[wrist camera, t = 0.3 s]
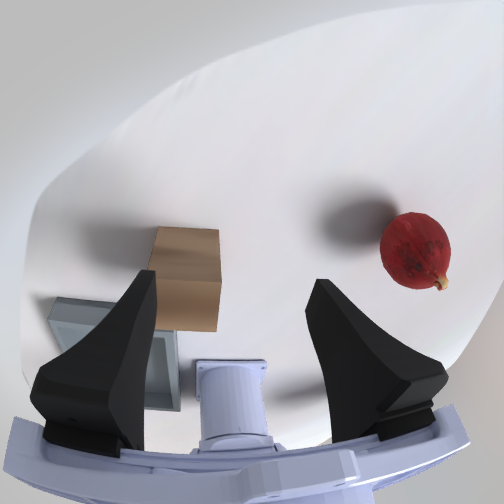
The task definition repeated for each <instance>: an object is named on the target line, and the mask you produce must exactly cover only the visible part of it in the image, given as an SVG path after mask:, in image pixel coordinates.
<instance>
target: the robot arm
mask: <svg viewBox="0 0 504 504" xmlns="http://www.w3.org/2000/svg"><path fill="white" fill-rule="evenodd" d="M305 313H306V319H307V324H308V329H309V332H310V336H311V339H312V342H313V345H314V348H315V350H316V353H317V356H318V359H319V362H320V365H321V369H322V372H323V376H324V381H325V386H326V391H327V397H328V404H329V411H330V419H331V430H332V444H328V445H322V446H316V447H309V448H303V449H295V450H286V448H285V447H283V446H282V445H281V444H280V443H274V442H273V436H269V432H268V426H267V420H266V414H265V408H264V402H263V396H262V390H261V384H262V381H263V378H264V375H265V372H266V369H267V366H268V363H267V362H266V361H197V362H196V400H197V401H200V417H201V440H202V441H199V448H194V449H193V450H192V452H191V453H189V454H172V453H158V452H148V451H144V399H145V381H146V371H147V365H148V360H149V354H150V350H151V345H152V340H153V335H154V330H155V325H156V316H157V290H156V271H154V270H141V271H140V272H139V273H138V275H137V276H136V278H135V279H134V281H133V282H132V284H131V285H130V286H129V288H128V289H127V291H126V292H125V293H124V294H123V296H122V297H121V298H120V300H119V301H118V302H117V303H116V305H115V306H114V307H113V308H112V309H111V311H110V312H109V313H108V314H107V315H106V316H105V317H104V318H103V319H102V321H101V322H100V323H99V324H98V325H97V326H96V327H95V328H94V329H92V330H91V331H90V332H89V333H88V334H87V335H86V336H85V337H84V338H82V339H81V340H80V341H79V342H78V343H76V344H75V345H74V346H72V347H71V348H70V349H68V350H67V351H65V352H64V353H63V354H61V355H60V356H58V357H56V358H55V359H53V360H51V361H50V362H48V363H46V364H45V365H43V366H41V367H40V369H39V371H38V373H37V375H36V378H35V381H34V384H33V387H32V391H31V394H30V400H31V402H32V404H33V405H34V407H35V408H36V409H37V410H38V412H39V413H40V414H41V415H42V416H43V417H44V418H45V419H46V424H45V427H43V426H42V425H40V424H37V423H35V422H32V421H28V420H25V419H22V418H19V417H14V420H13V424H12V427H11V432H10V436H9V440H8V445H7V450H6V455H5V460H4V466H3V470H4V471H5V472H6V473H8V474H10V475H11V476H13V477H15V478H17V479H18V480H20V481H22V482H24V483H26V484H28V485H30V486H32V487H34V488H37V489H39V490H42V491H45V492H48V493H51V494H54V495H57V496H60V497H64V498H67V499H70V500H74V501H77V502H81V503H85V504H375V500H374V497H373V493H372V492H374V491H377V490H379V489H382V488H385V487H387V486H390V485H392V484H395V483H397V482H400V481H402V480H405V479H407V478H409V477H411V476H414V475H416V474H418V473H421V472H423V471H425V470H427V469H429V468H431V467H433V466H436V465H437V464H440V463H441V462H443V461H445V460H446V459H448V458H449V457H451V456H453V455H454V454H455V453H457V452H459V451H460V450H462V449H463V448H465V447H466V446H467V445H469V444H470V439H469V437H468V435H467V432H466V430H465V428H464V426H463V424H462V421H461V419H460V417H459V415H458V413H457V411H456V409H455V407H454V405H453V404H450V405H448V406H445V407H442V408H440V409H437V410H436V411H434V412H432V409H431V407H432V406H433V402H432V398H433V397H434V396H435V395H436V394H437V393H438V392H439V391H440V390H441V389H442V388H443V387H444V386H445V384H446V383H447V381H448V377H449V376H448V374H447V373H446V371H445V369H444V367H443V365H442V363H441V362H439V361H437V360H434V359H432V358H430V357H427V356H425V355H423V354H421V353H419V352H417V351H415V350H413V349H411V348H410V347H408V346H406V345H405V344H403V343H401V342H400V341H398V340H397V339H395V338H394V337H392V336H391V335H389V334H388V333H387V332H385V331H384V330H383V329H381V328H380V327H379V326H378V325H376V324H375V323H374V322H373V321H372V320H371V319H369V318H368V317H367V316H366V315H365V314H364V313H363V312H362V311H361V310H360V309H358V308H357V307H356V306H355V305H354V304H353V303H352V302H351V301H350V300H349V299H348V298H347V297H346V296H345V295H344V294H343V293H342V292H341V291H340V290H339V289H338V288H337V287H336V286H335V285H334V284H333V283H332V282H331V281H330V280H329V279H316V282H315V285H314V288H313V290H312V293H311V296H310V298H309V301H308V304H307V307H306V309H305Z"/></svg>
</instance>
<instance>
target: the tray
mask: <svg viewBox="0 0 504 504" xmlns="http://www.w3.org/2000/svg"><path fill="white" fill-rule="evenodd" d="M115 305H116V303H110V302H99V301H89V300H79V299H70V298H61V297H57V299H56V301H55V303H54V306H53V308H52V310H51V312H50V314H49V317H48V319H47V320H48V322H49V325H50V327H51V329H52V331H53V333H54V336H55V338H56V340H57V342H58V344H59V346H60V348H61V350H62V352H63V353H64V352H65V351H67V350H68V349H70V348H71V347H72V346H74V345H75V344H76V343H78V342H79V341H80V340H81V339H82V338H84V337H85V336H86V335H87V334H88V333H89V332H90V331H91V330H92V329H94V328H95V327H96V326H97V325H98V324H99V323H100V322H101V321H102V319H103V318H104V317H105V316H106V315H107V314H108V313H109V312H110V311H111V309H112V308H113V307H114V306H115ZM144 409H148V410H160V411H176V412H180V409H181V389H180V377H179V363H178V347H177V330H160V329H155V330H154V335H153V340H152V345H151V350H150V354H149V360H148V365H147V371H146V381H145V399H144Z"/></svg>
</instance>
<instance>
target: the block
mask: <svg viewBox="0 0 504 504" xmlns="http://www.w3.org/2000/svg"><path fill="white" fill-rule="evenodd" d="M147 270H154V271H156V290H157V316H156V325H155V329H160V330H177V331H198V332H216V331H217V322H218V312H219V303H220V294H221V285H222V279H221V261H220V243H219V230H213V229H196V228H178V227H160V226H159V228H158V231H157V235H156V238H155V242H154V246H153V250H152V253H151V257H150V261H149V265H148V269H147Z"/></svg>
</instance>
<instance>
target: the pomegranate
mask: <svg viewBox="0 0 504 504" xmlns="http://www.w3.org/2000/svg"><path fill="white" fill-rule="evenodd" d="M380 254H381V259H382V263H383V266H384V268H385V269H386V270H387V272H388V273H389V274H390V276H391V277H392V278H393V280H394V281H396V282H397V283H398V284H400V285H402V286H405V287H408V288H411V289H426V288H430V287H433V286H436V287H437V289H438V290H439V291H440V290H444V289H446V288H447V284H448V281H449V280H448V279H447V277H446V271H447V269H448V267H449V262H450V256H451V248H450V243H449V240H448V237H447V234H446V232H445V230H444V229H443V227H442V226H441V225H440V224H439V223H438V222H437V221H435V220H434V219H433V218H431V217H430V216H428V215H426V214H422V213H414V212H409V213H406V214H402V215H400V216H398V217H396V218H395V219H394V220H392V221H391V222H390V223H389V225H388V226H387V227H386V229H385V230H384V231H383V234H382V238H381V242H380Z"/></svg>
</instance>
